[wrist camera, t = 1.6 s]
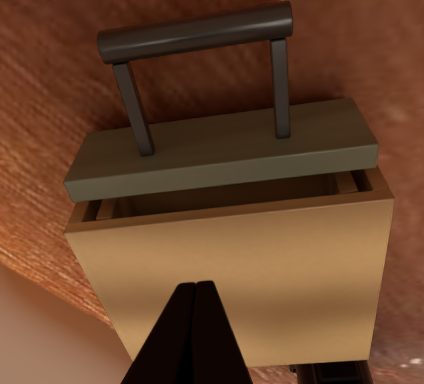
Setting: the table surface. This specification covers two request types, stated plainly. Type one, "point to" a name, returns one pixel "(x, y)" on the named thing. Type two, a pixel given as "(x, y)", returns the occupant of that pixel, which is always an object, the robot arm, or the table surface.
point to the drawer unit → (250, 269)
